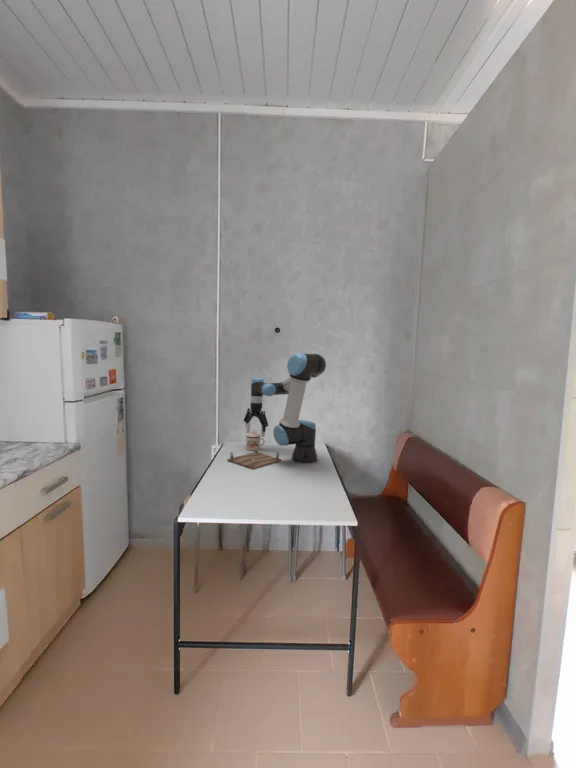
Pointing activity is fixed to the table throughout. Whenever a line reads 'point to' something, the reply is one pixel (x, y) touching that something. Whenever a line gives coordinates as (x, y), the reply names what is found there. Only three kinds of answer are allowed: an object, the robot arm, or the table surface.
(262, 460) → the stub plate
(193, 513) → the table surface
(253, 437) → the teacup with lid
